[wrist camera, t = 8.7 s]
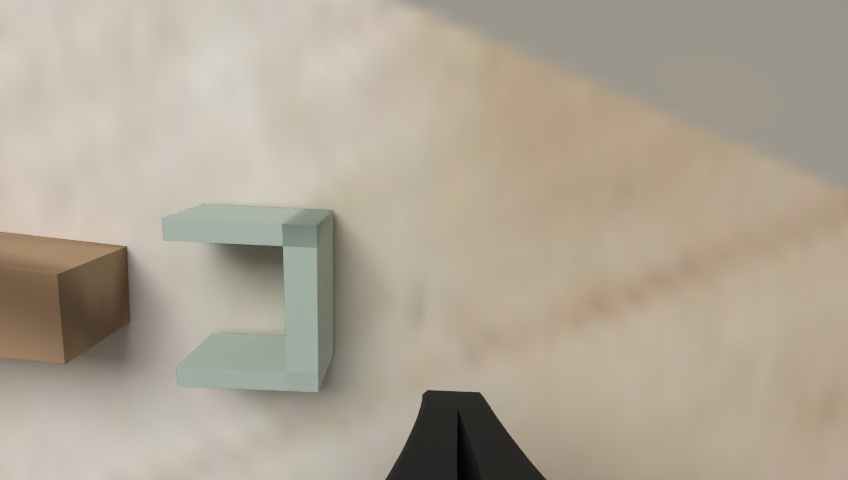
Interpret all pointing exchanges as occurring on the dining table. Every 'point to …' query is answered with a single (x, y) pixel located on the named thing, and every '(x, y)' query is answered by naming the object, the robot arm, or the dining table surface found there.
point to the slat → (59, 296)
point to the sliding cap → (303, 293)
